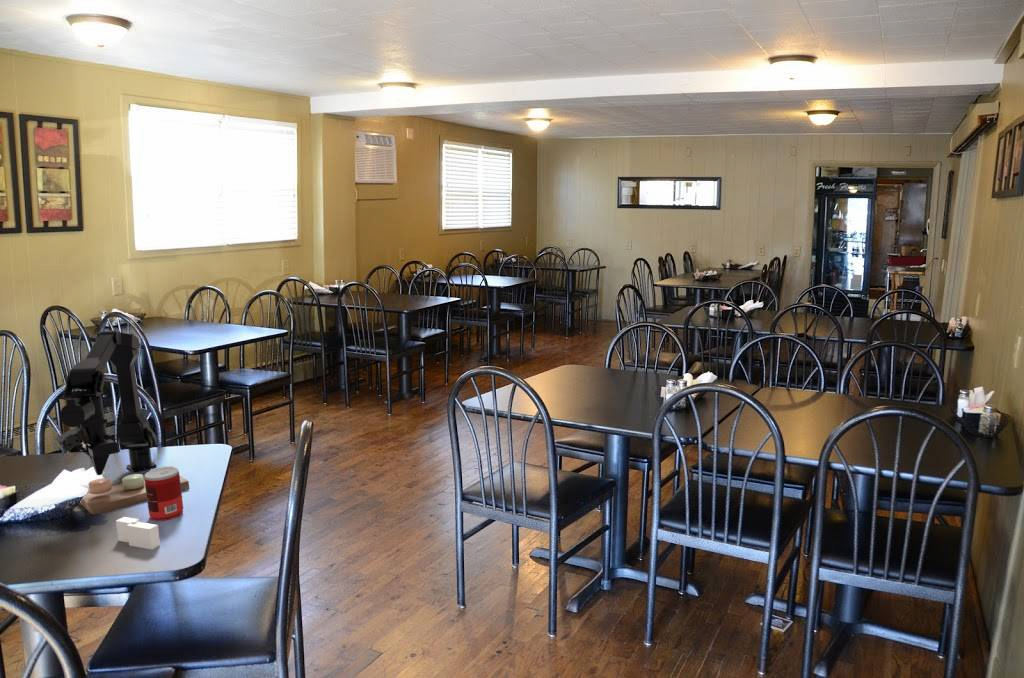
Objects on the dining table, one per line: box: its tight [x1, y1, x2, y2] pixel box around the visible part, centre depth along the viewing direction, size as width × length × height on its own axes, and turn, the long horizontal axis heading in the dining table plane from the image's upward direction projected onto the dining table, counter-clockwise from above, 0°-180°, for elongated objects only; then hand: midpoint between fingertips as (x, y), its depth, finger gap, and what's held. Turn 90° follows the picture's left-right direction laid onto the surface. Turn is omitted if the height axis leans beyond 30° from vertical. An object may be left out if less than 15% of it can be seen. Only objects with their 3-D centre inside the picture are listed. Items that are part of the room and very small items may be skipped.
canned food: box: [143, 466, 184, 522], centre depth 198 cm, size 8×8×11 cm
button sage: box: [121, 473, 144, 490], centre depth 213 cm, size 5×5×3 cm
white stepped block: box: [115, 516, 161, 550], centre depth 184 cm, size 15×11×6 cm
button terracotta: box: [88, 477, 112, 494], centre depth 207 cm, size 5×5×3 cm
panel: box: [80, 474, 190, 516], centre depth 213 cm, size 12×24×2 cm, turn 133°
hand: (99, 474), depth 206 cm, fingers closed
